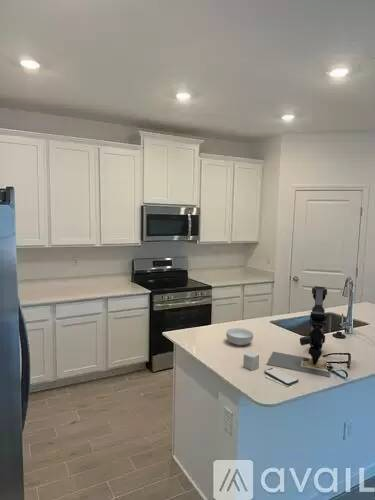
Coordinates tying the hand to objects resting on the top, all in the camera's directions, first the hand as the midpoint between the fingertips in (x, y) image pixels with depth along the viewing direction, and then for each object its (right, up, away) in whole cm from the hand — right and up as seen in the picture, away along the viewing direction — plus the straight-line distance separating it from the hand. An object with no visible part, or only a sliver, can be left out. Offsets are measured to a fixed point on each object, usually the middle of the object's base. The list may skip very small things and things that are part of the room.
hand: (314, 361), depth 185 cm
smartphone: (-22, -4, -13) cm, 26 cm away
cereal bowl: (-36, +1, +32) cm, 48 cm away
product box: (-35, -3, -2) cm, 35 cm away
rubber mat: (-7, -3, +3) cm, 9 cm away
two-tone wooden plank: (0, -2, 0) cm, 2 cm away
